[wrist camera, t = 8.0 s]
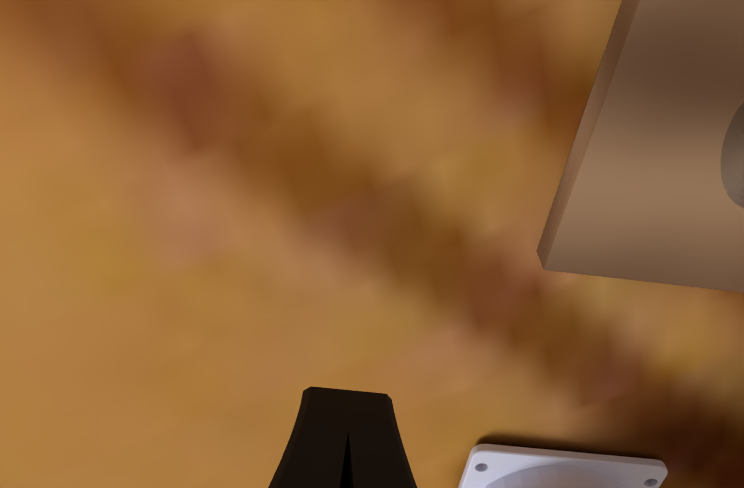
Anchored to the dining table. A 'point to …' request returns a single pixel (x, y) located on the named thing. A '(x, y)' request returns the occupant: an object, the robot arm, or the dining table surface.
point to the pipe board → (656, 153)
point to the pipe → (734, 158)
